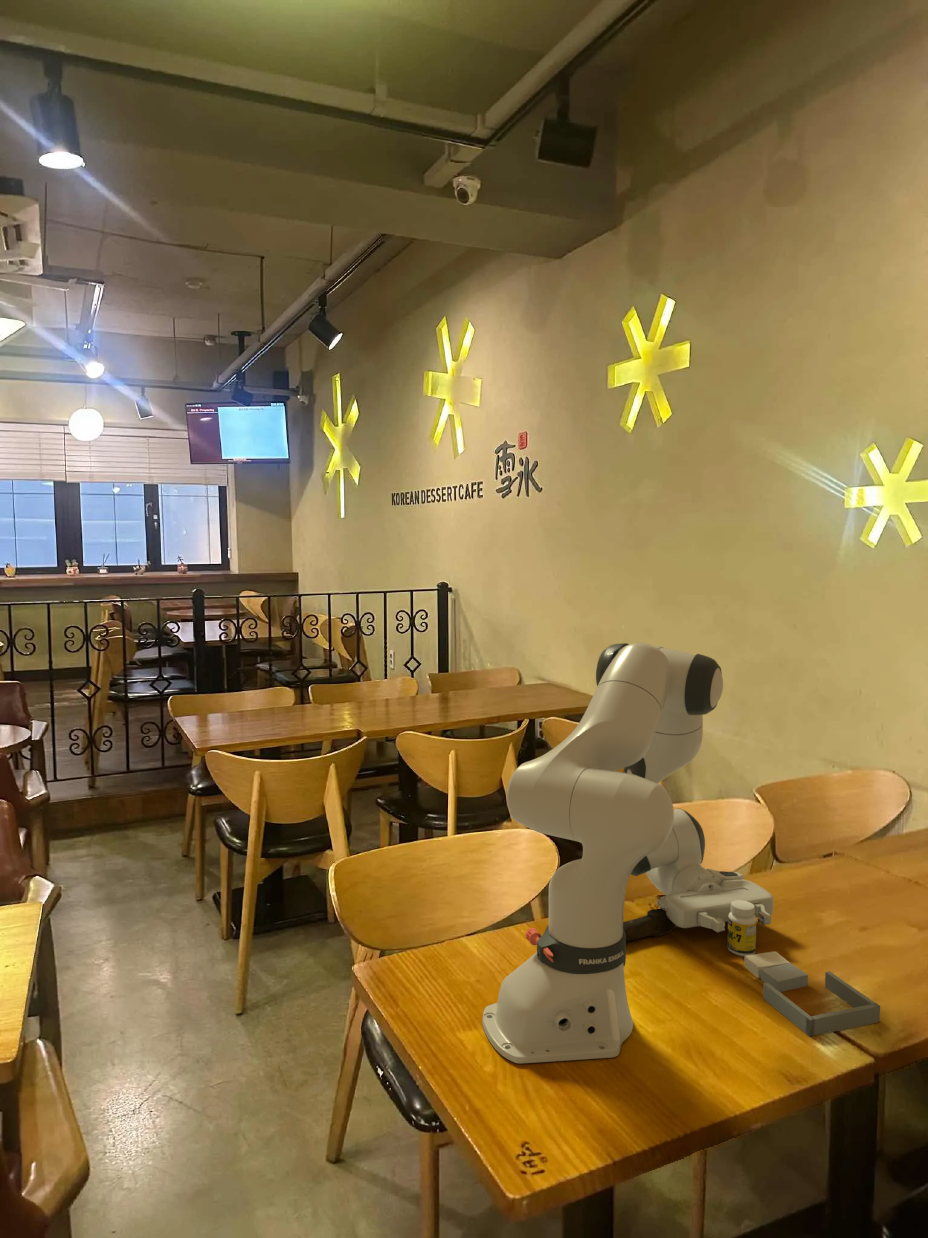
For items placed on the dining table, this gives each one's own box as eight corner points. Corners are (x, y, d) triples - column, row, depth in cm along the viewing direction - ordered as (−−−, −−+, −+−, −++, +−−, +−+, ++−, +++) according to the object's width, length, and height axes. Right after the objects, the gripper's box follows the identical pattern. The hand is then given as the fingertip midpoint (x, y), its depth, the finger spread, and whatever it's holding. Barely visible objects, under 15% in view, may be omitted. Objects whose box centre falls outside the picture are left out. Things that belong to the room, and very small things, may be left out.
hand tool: (597, 956, 145) (598, 931, 145) (585, 946, 149) (585, 921, 148) (685, 936, 153) (685, 912, 152) (671, 927, 156) (671, 903, 156)
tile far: (757, 980, 137) (758, 967, 137) (744, 968, 141) (744, 956, 141) (789, 975, 139) (789, 962, 138) (775, 963, 142) (775, 951, 142)
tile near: (777, 994, 133) (778, 981, 132) (760, 982, 136) (761, 969, 136) (807, 987, 135) (808, 974, 134) (790, 975, 138) (790, 963, 138)
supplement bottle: (721, 947, 148) (722, 901, 147) (742, 942, 150) (743, 897, 149) (740, 959, 143) (741, 912, 143) (761, 954, 145) (762, 907, 144)
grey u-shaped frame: (809, 1036, 121) (810, 1020, 120) (763, 998, 131) (763, 983, 131) (879, 1022, 124) (880, 1006, 124) (829, 986, 134) (829, 971, 134)
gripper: (652, 883, 155) (693, 914, 142) (746, 871, 161) (793, 899, 148) (651, 916, 156) (692, 950, 142) (745, 902, 161) (792, 933, 148)
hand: (744, 924), depth 145 cm, fingers open, 8 cm apart
